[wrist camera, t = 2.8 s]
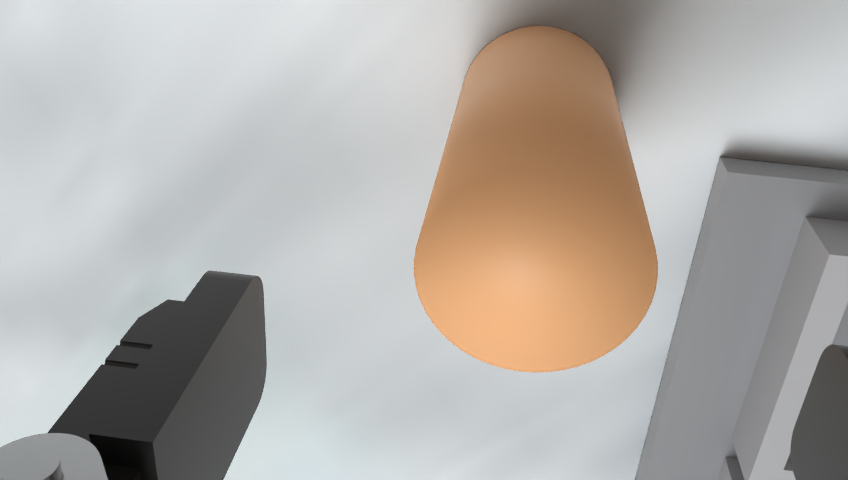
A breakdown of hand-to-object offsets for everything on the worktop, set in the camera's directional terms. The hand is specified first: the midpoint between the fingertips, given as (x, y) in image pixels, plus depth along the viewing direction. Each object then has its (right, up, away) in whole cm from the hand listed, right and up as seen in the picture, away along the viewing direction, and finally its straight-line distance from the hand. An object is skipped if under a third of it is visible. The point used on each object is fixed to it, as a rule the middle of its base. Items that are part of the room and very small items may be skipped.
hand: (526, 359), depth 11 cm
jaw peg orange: (+1, +5, +9) cm, 11 cm away
